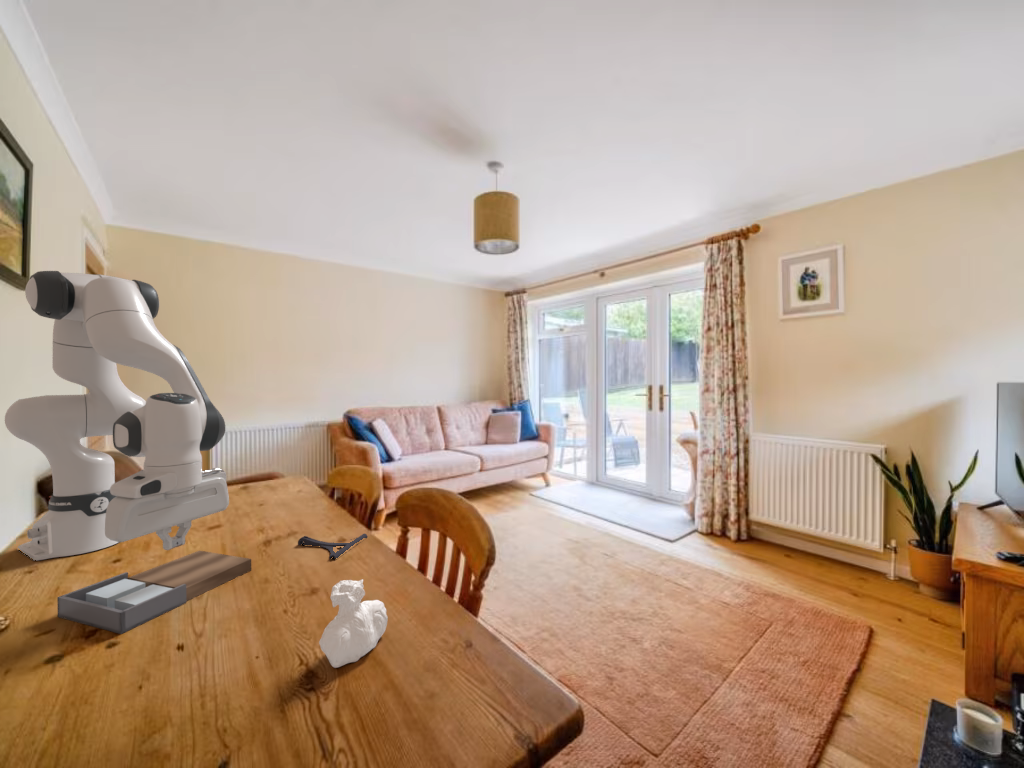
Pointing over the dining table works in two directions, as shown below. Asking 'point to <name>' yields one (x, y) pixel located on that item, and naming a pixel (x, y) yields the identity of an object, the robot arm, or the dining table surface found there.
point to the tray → (115, 619)
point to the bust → (352, 624)
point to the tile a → (113, 592)
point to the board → (195, 572)
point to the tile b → (139, 596)
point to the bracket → (330, 544)
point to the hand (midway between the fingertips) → (174, 547)
